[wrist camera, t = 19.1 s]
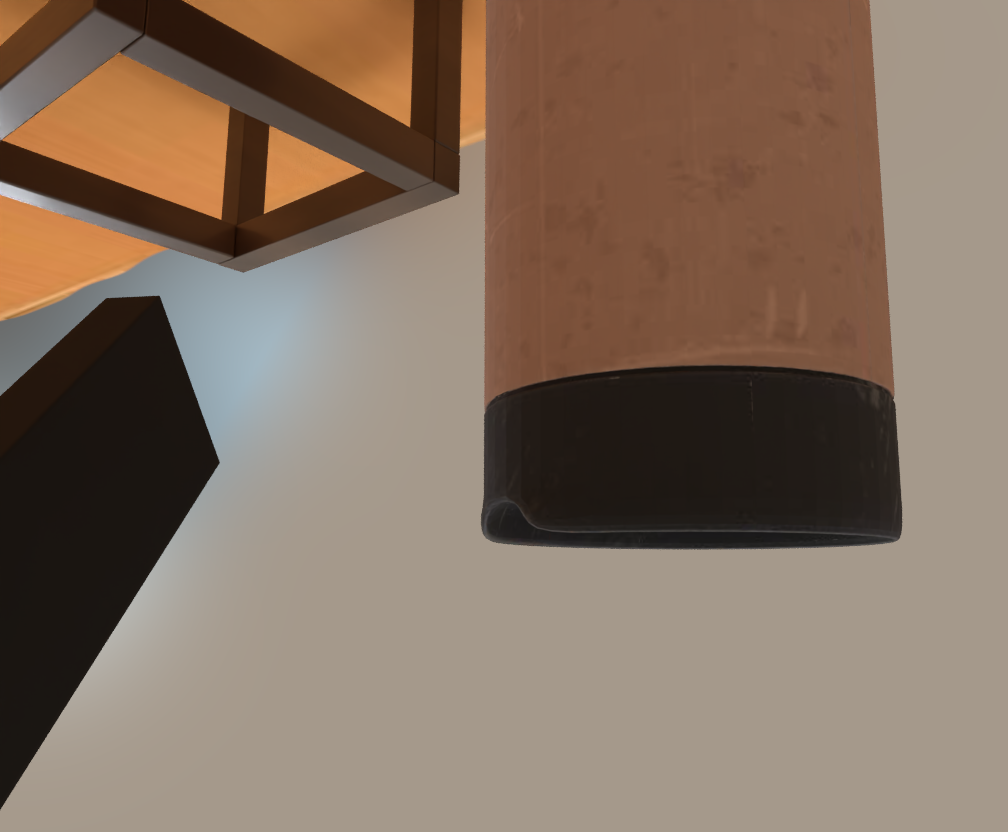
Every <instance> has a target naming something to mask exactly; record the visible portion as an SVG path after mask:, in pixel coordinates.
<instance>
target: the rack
mask: <svg viewBox="0 0 1008 832" xmlns="http://www.w3.org/2000/svg"><path fill="white" fill-rule="evenodd" d="M462 2H463V0H414V28H413V59H412V90H411V121H410V127H408V126H406V125H404V124H403V123H401V122H399V121H397V120H395V119H394V118H392V117H390V116H388V115H386V114H385V113H383V112H381V111H379V110H378V109H376V108H374V107H372V106H370V105H369V104H367V103H365V102H363V101H361V100H360V99H358V98H356V97H354V96H352V95H351V94H349V93H347V92H345V91H343V90H342V89H340V88H338V87H336V86H335V85H333V84H331V83H329V82H327V81H326V80H324V79H322V78H320V77H318V76H317V75H315V74H313V73H311V72H309V71H308V70H306V69H304V68H302V67H300V66H299V65H297V64H295V63H293V62H292V61H290V60H288V59H286V58H284V57H283V56H281V55H279V54H277V53H275V52H274V51H272V50H270V49H268V48H266V47H265V46H263V45H261V44H259V43H257V42H256V41H254V40H252V39H250V38H249V37H247V36H245V35H243V34H241V33H240V32H238V31H236V30H234V29H232V28H231V27H229V26H227V25H225V24H223V23H222V22H220V21H218V20H216V19H214V18H213V17H211V16H209V15H207V14H206V13H204V12H202V11H200V10H198V9H197V8H195V7H193V6H191V5H189V4H188V3H186V2H184V1H182V0H50V1H49V2H48V3H47V4H46V5H45V6H44V7H43V8H41V9H40V10H39V11H38V12H37V13H36V14H35V15H34V16H33V17H32V18H31V19H29V20H28V21H27V22H26V23H25V24H24V25H23V26H22V27H21V28H20V29H18V30H17V31H16V32H15V33H14V34H13V35H12V36H11V37H10V38H9V39H8V40H6V41H5V42H4V43H3V44H2V45H1V46H0V195H3V196H6V197H9V198H12V199H15V200H18V201H21V202H25V203H28V204H31V205H34V206H37V207H40V208H43V209H47V210H50V211H53V212H56V213H59V214H62V215H65V216H69V217H72V218H75V219H78V220H81V221H84V222H87V223H91V224H94V225H97V226H100V227H103V228H106V229H109V230H113V231H116V232H119V233H122V234H125V235H128V236H131V237H135V238H138V239H141V240H144V241H147V242H150V243H153V244H157V245H160V246H163V247H166V248H169V249H172V250H176V251H179V252H182V253H185V254H188V255H191V256H194V257H198V258H201V259H204V260H207V261H210V262H213V263H217V264H219V265H221V266H224V267H228V268H231V269H234V270H237V271H240V272H246V271H249V270H252V269H254V268H257V267H260V266H263V265H266V264H268V263H271V262H274V261H276V260H279V259H282V258H285V257H287V256H290V255H293V254H296V253H298V252H301V251H304V250H307V249H309V248H312V247H315V246H318V245H320V244H323V243H326V242H328V241H331V240H334V239H337V238H340V237H342V236H345V235H348V234H351V233H353V232H356V231H359V230H362V229H364V228H367V227H370V226H372V225H375V224H378V223H381V222H384V221H386V220H389V219H392V218H395V217H397V216H400V215H403V214H406V213H408V212H411V211H414V210H416V209H419V208H422V207H425V206H427V205H430V204H433V203H436V202H439V201H441V200H444V199H447V198H449V197H452V196H455V195H458V194H459V172H460V171H459V170H460V156H459V155H458V154H459V148H460V100H461V51H462ZM118 52H121V54H122V55H125V56H127V57H129V58H131V59H133V60H135V61H137V62H139V63H141V64H143V65H145V66H147V67H150V68H152V69H154V70H156V71H158V72H160V73H162V74H164V75H166V76H168V77H170V78H173V79H175V80H177V81H179V82H181V83H183V84H185V85H187V86H189V87H191V88H193V89H195V90H198V91H200V92H202V93H204V94H206V95H208V96H210V97H212V98H214V99H216V100H218V101H220V102H223V103H225V104H227V105H229V106H230V112H229V125H228V139H227V152H226V166H225V180H224V193H223V207H222V220H220V219H217V218H214V217H212V216H209V215H206V214H203V213H200V212H198V211H195V210H192V209H189V208H187V207H184V206H181V205H178V204H176V203H173V202H170V201H167V200H165V199H162V198H159V197H156V196H154V195H151V194H148V193H145V192H143V191H140V190H137V189H134V188H132V187H129V186H126V185H123V184H121V183H118V182H115V181H112V180H110V179H107V178H104V177H101V176H99V175H96V174H93V173H90V172H87V171H85V170H82V169H79V168H76V167H74V166H71V165H68V164H65V163H63V162H60V161H57V160H54V159H52V158H49V157H46V156H43V155H41V154H38V153H35V152H32V151H30V150H27V149H24V148H21V147H19V146H16V145H13V144H10V143H8V142H5V141H2V139H3V138H5V137H6V136H8V135H9V134H10V133H12V132H13V131H14V130H16V129H17V128H18V127H20V126H21V125H22V124H24V123H25V122H26V121H28V120H29V119H30V118H32V117H33V116H34V115H36V114H37V113H38V112H40V111H41V110H42V109H44V108H45V107H46V106H48V105H49V104H50V103H52V102H53V101H54V100H56V99H57V98H58V97H60V96H61V95H62V94H64V93H65V92H66V91H68V90H69V89H70V88H72V87H73V86H74V85H76V84H77V83H78V82H80V81H81V80H82V79H84V78H85V77H86V76H88V75H89V74H90V73H92V72H93V71H94V70H96V69H97V68H98V67H100V66H101V65H102V64H104V63H105V62H106V61H108V60H109V59H110V58H112V57H113V56H114V55H116V54H117V53H118ZM269 125H271V126H273V127H275V128H277V129H279V130H281V131H283V132H285V133H287V134H289V135H291V136H293V137H296V138H298V139H300V140H302V141H304V142H306V143H308V144H310V145H312V146H314V147H316V148H318V149H321V150H323V151H325V152H327V153H329V154H331V155H333V156H335V157H337V158H339V159H341V160H344V161H346V162H348V163H350V164H352V165H354V166H356V167H358V168H360V169H362V170H364V172H362V173H360V174H357V175H355V176H353V177H350V178H348V179H346V180H343V181H341V182H338V183H336V184H334V185H331V186H329V187H327V188H324V189H322V190H320V191H317V192H315V193H313V194H310V195H308V196H305V197H303V198H301V199H298V200H296V201H294V202H291V203H289V204H287V205H284V206H282V207H280V208H277V209H275V210H273V211H270V212H268V213H265V214H264V202H265V186H266V171H267V155H268V140H269Z"/></svg>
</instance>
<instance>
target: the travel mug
mask: <svg viewBox="0 0 1008 832" xmlns="http://www.w3.org/2000/svg"><path fill="white" fill-rule="evenodd" d="M874 83H875V82H874V67H873V52H872V35H871V21H870V4H869V0H486V157H485V158H486V159H485V161H486V162H485V164H486V165H485V169H486V170H485V174H486V175H485V402H484V404H485V415H484V421H485V422H484V500H483V509H482V514H481V526H482V531H483V534H484V536H485V537H486V538H487V539H489V540H490V541H493V542H496V543H503V544H513V545H527V546H546V547H548V546H549V547H573V548H611V549H615V548H616V549H780V548H816V547H817V548H818V547H843V546H861V545H875V544H884V543H891V542H895V541H897V540H898V539H899V538H900V535H901V531H902V502H901V488H900V472H899V456H898V440H897V426H896V412H895V411H896V409H895V403H894V401H893V399H894V380H893V364H892V347H891V332H890V316H889V300H888V286H887V269H886V254H885V238H884V223H883V207H882V192H881V176H880V162H879V161H880V160H879V145H878V129H877V113H876V98H875V84H874Z"/></svg>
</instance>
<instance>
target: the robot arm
mask: <svg viewBox="0 0 1008 832" xmlns="http://www.w3.org/2000/svg"><path fill="white" fill-rule="evenodd" d="M219 463H220V462H219V459H218V456H217V454H216V451H215V448H214V445H213V443H212V440H211V437H210V434H209V431H208V429H207V426H206V423H205V420H204V418H203V415H202V412H201V409H200V407H199V404H198V401H197V398H196V396H195V393H194V390H193V387H192V384H191V382H190V379H189V376H188V373H187V370H186V368H185V365H184V362H183V359H182V357H181V354H180V351H179V348H178V346H177V343H176V340H175V337H174V334H173V332H172V329H171V326H170V323H169V321H168V318H167V315H166V312H165V310H164V307H163V304H162V301H161V298H160V296H144V297H122V298H106V299H105V300H104V301H103V302H102V303H101V304H99V305H98V306H97V307H96V308H95V309H94V310H93V311H92V312H91V313H90V314H89V315H88V316H86V317H85V318H84V319H83V320H82V321H81V322H80V323H79V324H78V325H77V326H76V327H75V328H73V329H72V330H71V331H70V332H69V333H68V334H67V335H66V336H65V337H64V338H63V339H62V340H60V342H58V343H57V344H56V345H55V346H54V347H53V348H52V349H51V350H50V351H49V352H47V353H46V354H45V355H44V356H43V357H42V358H41V359H40V360H39V361H38V362H37V363H36V364H34V365H33V366H32V367H31V368H30V369H29V370H28V371H27V372H26V373H25V374H24V375H23V376H21V377H20V378H19V379H18V380H17V381H16V382H15V383H14V384H13V385H12V386H11V387H10V388H9V389H7V390H6V391H5V392H4V393H3V394H2V395H1V396H0V809H1V807H2V806H3V805H4V803H5V801H6V800H7V798H8V797H9V795H10V793H11V792H12V790H13V789H14V787H15V785H16V784H17V782H18V781H19V779H20V778H21V776H22V774H23V773H24V771H25V770H26V768H27V767H28V765H29V763H30V762H31V760H32V759H33V757H34V755H35V754H36V752H37V751H38V749H39V748H40V746H41V744H42V743H43V741H44V740H45V738H46V737H47V734H48V733H49V732H50V730H51V729H52V727H53V725H54V724H55V722H56V721H57V719H58V718H59V716H60V714H61V713H62V711H63V710H64V708H65V707H66V705H67V703H68V702H69V700H70V698H71V697H72V695H73V694H74V692H75V691H76V689H77V688H78V686H79V684H80V683H81V681H82V680H83V678H84V676H85V675H86V673H87V672H88V670H89V669H90V667H91V665H92V664H93V662H94V661H95V659H96V657H97V656H98V654H99V653H100V651H101V650H102V648H103V646H104V645H105V643H106V642H107V640H108V639H109V637H110V635H111V634H112V632H113V631H114V629H115V627H116V626H117V624H118V623H119V621H120V620H121V618H122V616H123V615H124V613H125V612H126V610H127V608H128V607H129V605H130V604H131V602H132V601H133V599H134V597H135V596H136V594H137V593H138V591H139V589H140V588H141V586H142V585H143V583H144V582H145V580H146V578H147V577H148V575H149V573H150V572H151V571H152V569H153V567H154V566H155V564H156V563H157V561H158V560H159V558H160V556H161V555H162V553H163V552H164V550H165V548H166V547H167V545H168V544H169V542H170V541H171V539H172V537H173V536H174V534H175V533H176V531H177V529H178V528H179V526H180V525H181V523H182V522H183V520H184V518H185V517H186V515H187V514H188V512H189V510H190V509H191V507H192V506H193V504H194V503H195V501H196V499H197V498H198V496H199V495H200V493H201V491H202V490H203V488H204V487H205V485H206V483H207V481H208V480H209V479H210V477H211V476H212V474H213V473H214V471H215V469H216V468H217V466H218V465H219Z"/></svg>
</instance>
